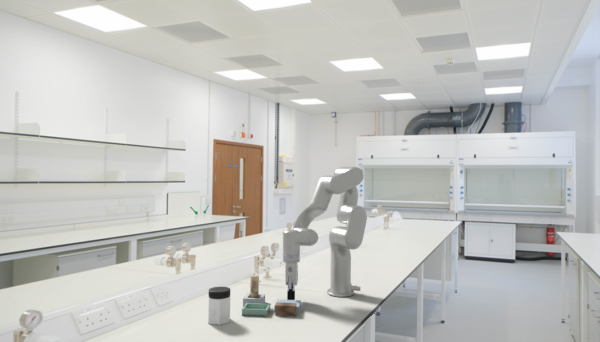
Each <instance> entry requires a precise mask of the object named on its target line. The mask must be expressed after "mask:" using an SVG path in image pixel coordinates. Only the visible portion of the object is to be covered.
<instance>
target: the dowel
mask: <svg viewBox="0 0 600 342" xmlns="http://www.w3.org/2000/svg"><path fill="white" fill-rule="evenodd" d="M259 277H260V276H259V275H250V285H249V287H250V290H249V291H250V292H249V293H250V298H258V294H260V293H259V292H260V291H259V288H260V287H259V286H260V285H259V284H260V283H259V282H260V281H259Z"/></svg>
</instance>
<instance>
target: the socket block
mask: <svg viewBox="0 0 600 342" xmlns="http://www.w3.org/2000/svg"><path fill="white" fill-rule="evenodd" d="M246 303H260V304H266V293H259V294H258V298H250V292H249V293H246V294H245V296H244V297H243V298H242V308H243V307H244V306H245V304H246Z"/></svg>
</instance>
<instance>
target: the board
mask: <svg viewBox="0 0 600 342" xmlns="http://www.w3.org/2000/svg"><path fill="white" fill-rule="evenodd" d="M277 302H281V303H296V314H300V311H301V308H302V307H301V306H302V300H300V299H299V300H298V299H297V300H296V299H295V300H287V299H277V300H276V302H275V304H274V308H273V309H274V313H275V305H276V303H277Z"/></svg>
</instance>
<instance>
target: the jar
mask: <svg viewBox="0 0 600 342" xmlns="http://www.w3.org/2000/svg"><path fill="white" fill-rule="evenodd" d="M207 321H208V322H207V323H208V324H210V325H215V324H217V326H221V324H222V325H225V323H226V324H229V323H230V322H231V288H230V287H228V286H214V287H211V288H209V289H208V319H207Z"/></svg>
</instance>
